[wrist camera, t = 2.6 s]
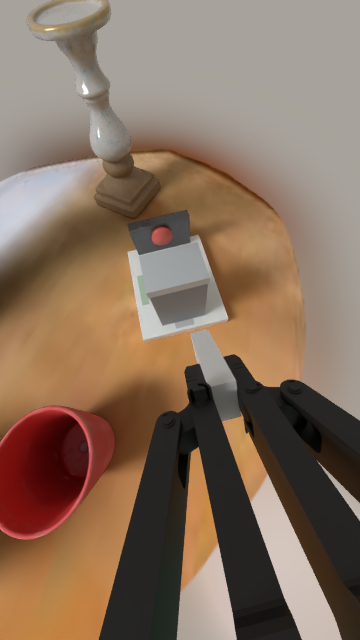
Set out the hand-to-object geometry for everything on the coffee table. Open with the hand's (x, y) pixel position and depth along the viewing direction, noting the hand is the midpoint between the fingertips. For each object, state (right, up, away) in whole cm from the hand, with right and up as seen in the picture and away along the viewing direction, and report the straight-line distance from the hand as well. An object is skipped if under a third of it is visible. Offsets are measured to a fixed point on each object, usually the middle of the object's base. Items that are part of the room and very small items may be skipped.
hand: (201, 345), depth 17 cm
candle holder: (-14, +31, +29) cm, 44 cm away
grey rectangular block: (-2, +4, +16) cm, 17 cm away
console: (-3, +8, +20) cm, 21 cm away
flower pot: (-15, -16, +12) cm, 24 cm away
